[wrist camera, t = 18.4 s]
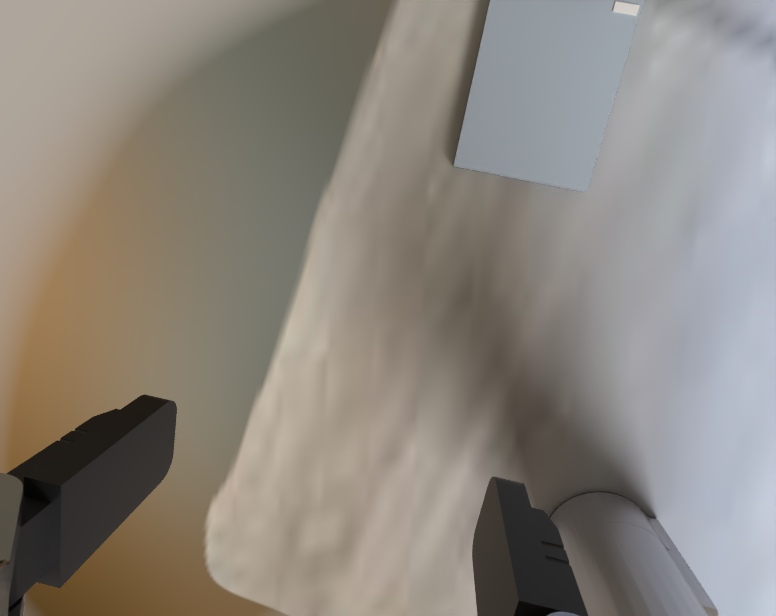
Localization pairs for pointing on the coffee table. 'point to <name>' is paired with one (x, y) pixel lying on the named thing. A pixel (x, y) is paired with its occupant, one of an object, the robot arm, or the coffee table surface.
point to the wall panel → (545, 88)
